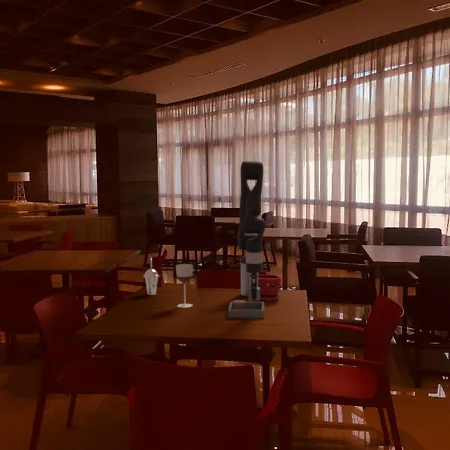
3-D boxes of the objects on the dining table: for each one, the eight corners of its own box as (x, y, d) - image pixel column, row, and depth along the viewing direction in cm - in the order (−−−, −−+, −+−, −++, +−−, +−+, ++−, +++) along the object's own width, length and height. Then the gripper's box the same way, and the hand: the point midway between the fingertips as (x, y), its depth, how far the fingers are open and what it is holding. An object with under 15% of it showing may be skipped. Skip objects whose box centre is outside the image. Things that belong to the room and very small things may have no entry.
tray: (230, 308, 247) (230, 301, 246) (264, 309, 245) (264, 302, 245) (228, 317, 231) (228, 310, 230) (263, 318, 229) (263, 310, 229)
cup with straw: (141, 295, 276) (140, 258, 274) (148, 291, 285) (147, 256, 283) (155, 296, 274) (154, 259, 272) (162, 292, 282) (161, 256, 280)
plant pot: (281, 301, 259) (282, 278, 258) (255, 301, 260) (255, 278, 259) (279, 295, 272) (279, 273, 271) (255, 295, 273) (255, 273, 272)
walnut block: (234, 310, 241) (234, 300, 241) (244, 310, 241) (244, 300, 240) (233, 313, 236) (233, 302, 236) (244, 313, 236) (244, 302, 235)
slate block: (249, 297, 240) (249, 287, 239) (259, 297, 239) (259, 287, 239) (248, 300, 235) (248, 289, 234) (259, 300, 234) (259, 289, 234)
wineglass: (173, 306, 252) (172, 266, 250) (182, 302, 259) (182, 263, 257) (187, 308, 248) (186, 267, 246) (196, 304, 255) (195, 264, 254)
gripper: (262, 264, 228) (262, 301, 230) (262, 259, 242) (262, 294, 244) (245, 264, 229) (245, 301, 230) (246, 259, 243) (246, 294, 244)
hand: (254, 297), depth 237 cm, fingers closed on slate block, 5 cm apart
